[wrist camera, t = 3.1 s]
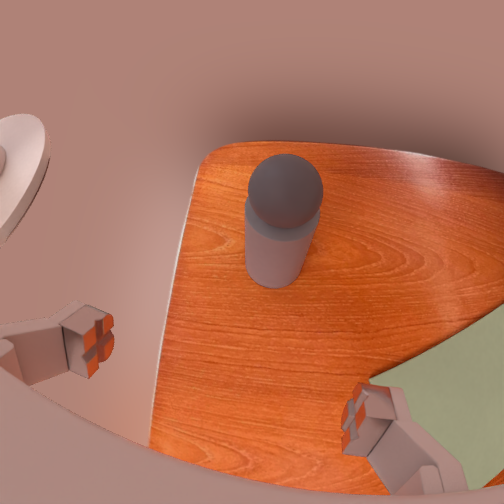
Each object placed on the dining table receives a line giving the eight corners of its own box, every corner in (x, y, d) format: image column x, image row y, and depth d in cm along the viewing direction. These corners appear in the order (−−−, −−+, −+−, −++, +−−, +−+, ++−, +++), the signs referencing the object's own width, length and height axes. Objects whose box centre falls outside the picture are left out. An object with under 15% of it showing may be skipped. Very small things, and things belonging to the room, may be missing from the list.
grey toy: (255, 295, 26) (260, 212, 15) (238, 245, 28) (233, 144, 17) (309, 279, 27) (348, 191, 16) (290, 231, 29) (312, 130, 18)
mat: (415, 530, 16) (417, 532, 16) (368, 379, 23) (370, 378, 22) (548, 419, 19) (551, 418, 18) (512, 297, 26) (515, 295, 25)
